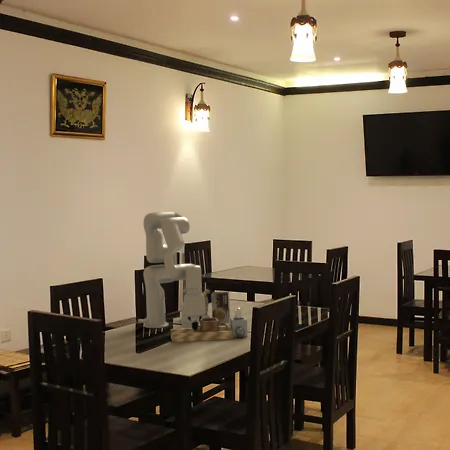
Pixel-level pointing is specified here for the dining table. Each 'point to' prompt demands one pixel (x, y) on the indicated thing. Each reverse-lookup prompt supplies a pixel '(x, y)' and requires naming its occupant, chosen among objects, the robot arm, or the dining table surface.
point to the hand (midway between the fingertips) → (195, 330)
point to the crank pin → (238, 314)
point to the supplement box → (186, 322)
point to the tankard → (206, 301)
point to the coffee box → (221, 306)
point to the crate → (209, 324)
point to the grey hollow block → (239, 327)
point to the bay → (201, 334)
